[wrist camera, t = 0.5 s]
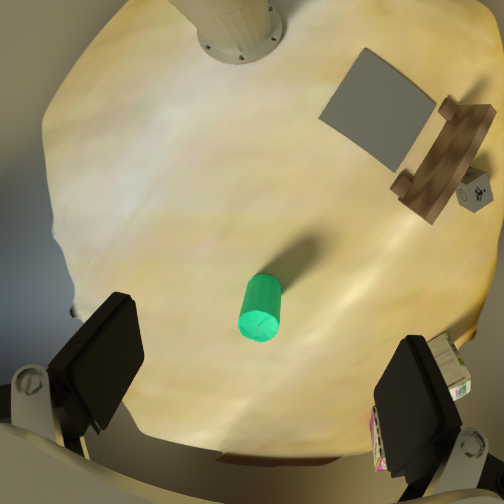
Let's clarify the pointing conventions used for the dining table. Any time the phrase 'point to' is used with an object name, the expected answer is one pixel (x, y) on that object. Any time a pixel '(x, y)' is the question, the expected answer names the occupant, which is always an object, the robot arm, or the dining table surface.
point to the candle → (261, 308)
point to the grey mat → (378, 110)
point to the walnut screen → (445, 159)
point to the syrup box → (450, 365)
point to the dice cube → (474, 190)
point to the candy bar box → (377, 442)
